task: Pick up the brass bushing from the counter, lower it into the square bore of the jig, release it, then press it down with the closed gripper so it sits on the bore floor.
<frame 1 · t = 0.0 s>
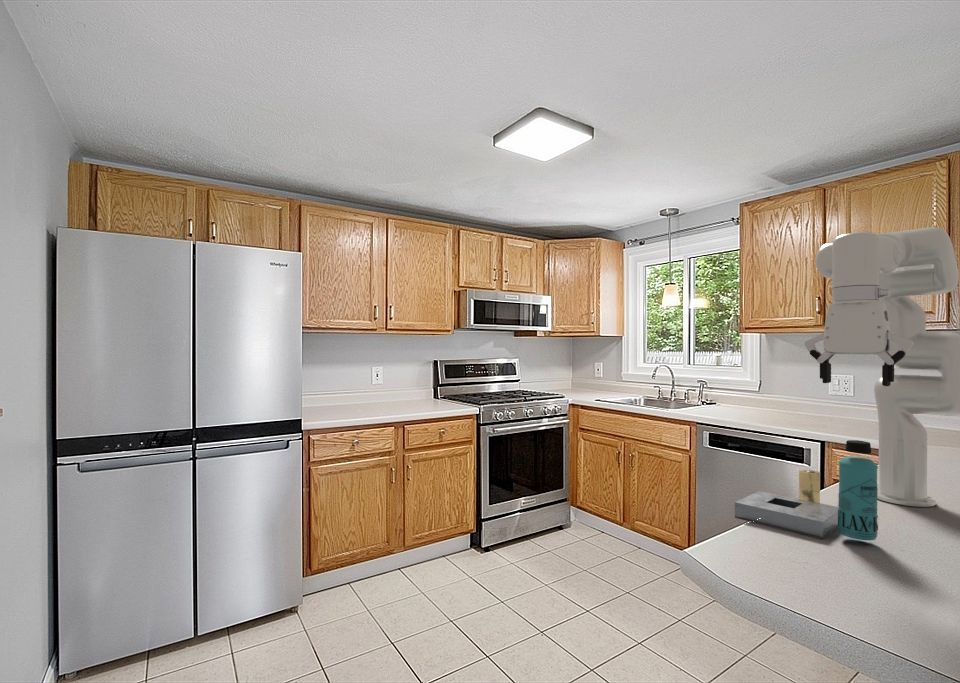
hand: (855, 384, 100), 31 cm above the countertop, fingers open, 9 cm apart
jig: (787, 520, 113), on the countertop
beverage bottle: (857, 543, 101), on the countertop
bushing: (809, 509, 122), on the countertop
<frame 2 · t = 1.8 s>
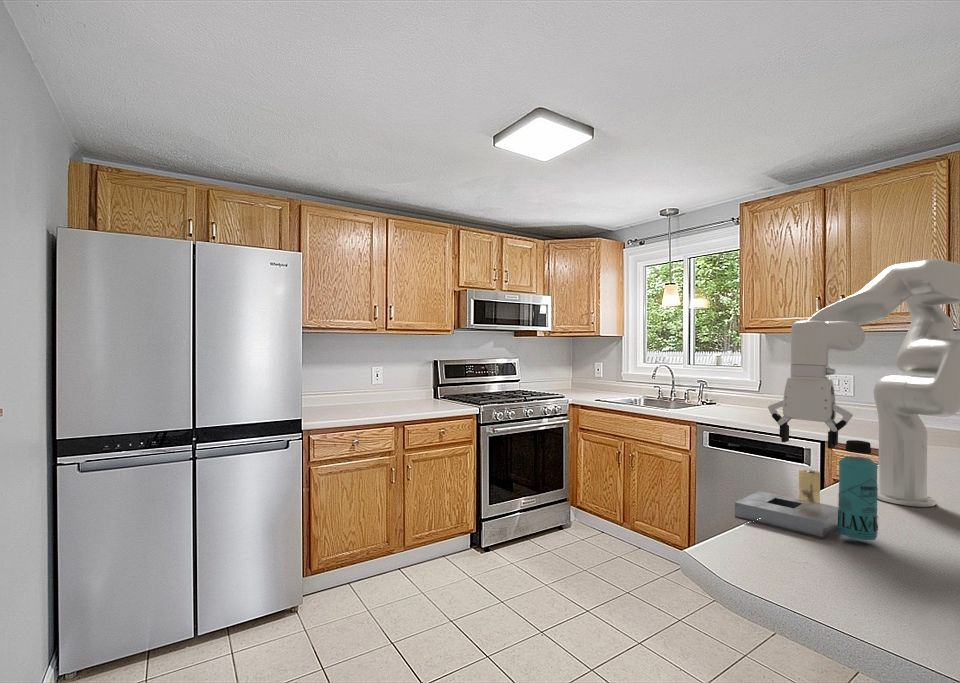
hand: (807, 444, 122), 15 cm above the countertop, fingers open, 9 cm apart
nothing on the countertop moved.
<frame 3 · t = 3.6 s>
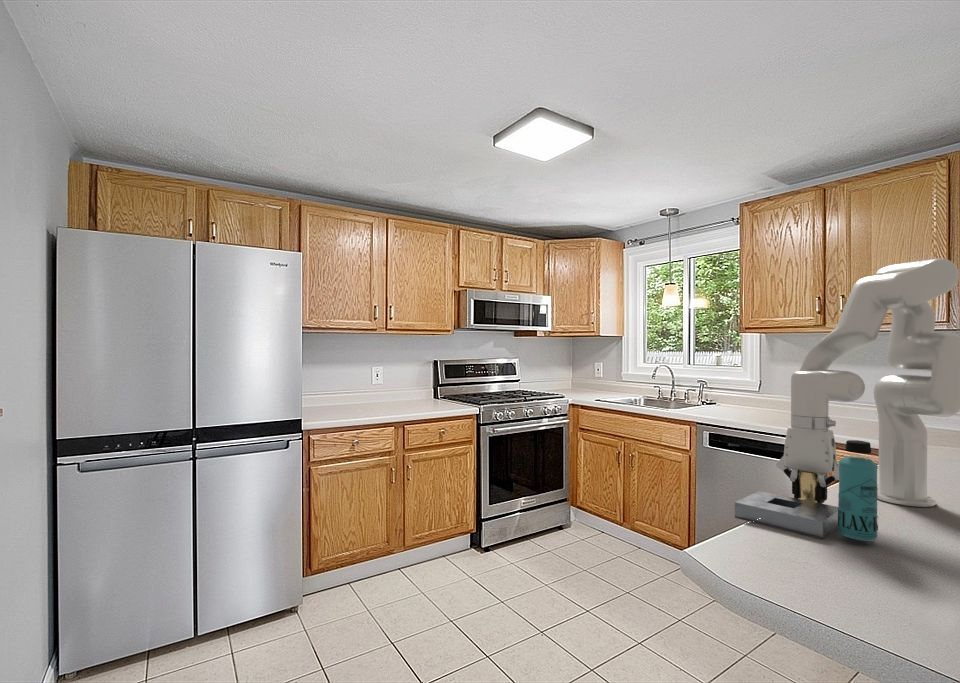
hand: (809, 499, 122), 2 cm above the countertop, fingers closed on bushing, 4 cm apart
bushing: (809, 509, 122), on the countertop, touching gripper
everything else where it was.
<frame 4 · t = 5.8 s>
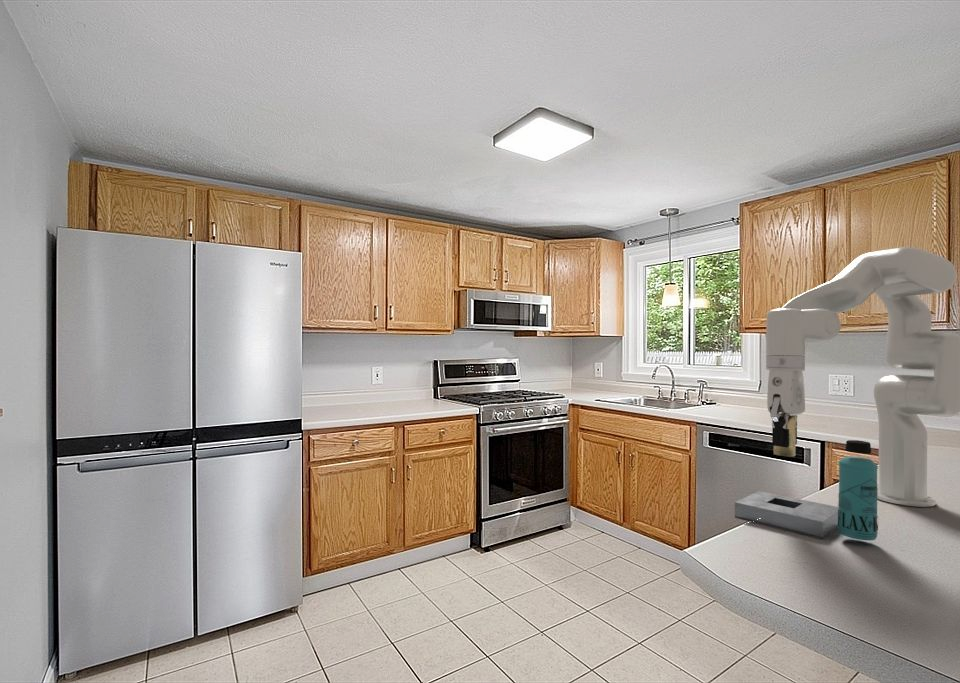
hand: (784, 444, 115), 17 cm above the countertop, fingers closed on bushing, 4 cm apart
bushing: (784, 454, 115), point 14 cm above the countertop, touching gripper
everything else where it was.
when the fingers open (4 cm above the countertop, at t = 8.4 s): bushing drops 1 cm, resting on jig.
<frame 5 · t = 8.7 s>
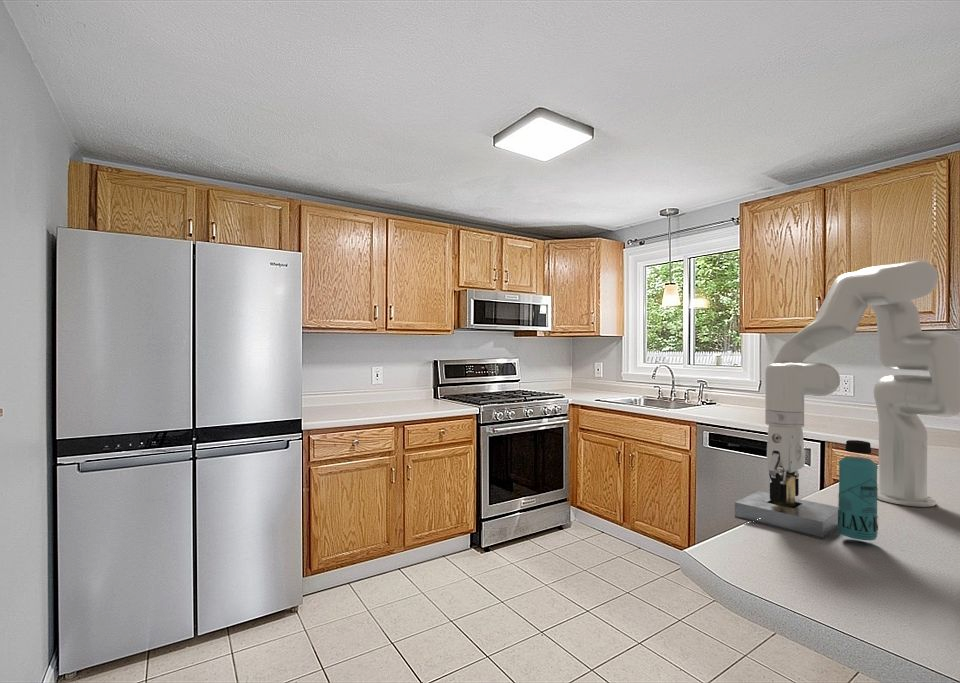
hand: (784, 497, 115), 5 cm above the countertop, fingers open, 7 cm apart
bushing: (784, 516, 115), point 1 cm above the countertop, touching jig
everything else where it was.
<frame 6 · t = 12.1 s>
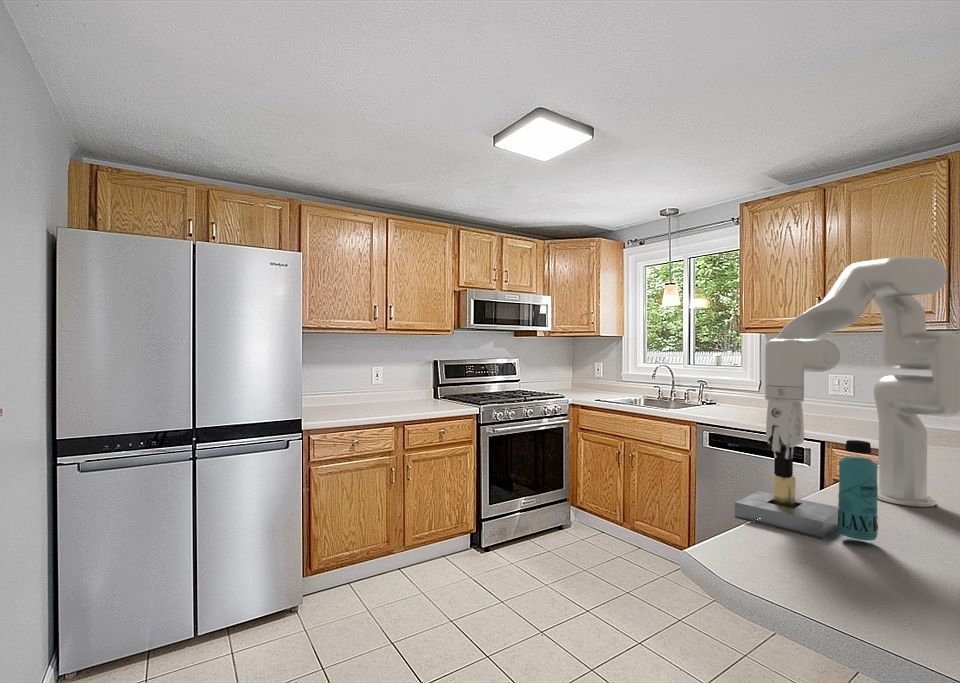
hand: (783, 475, 115), 10 cm above the countertop, fingers closed
bushing: (784, 516, 115), point 1 cm above the countertop, touching gripper, jig
everything else where it was.
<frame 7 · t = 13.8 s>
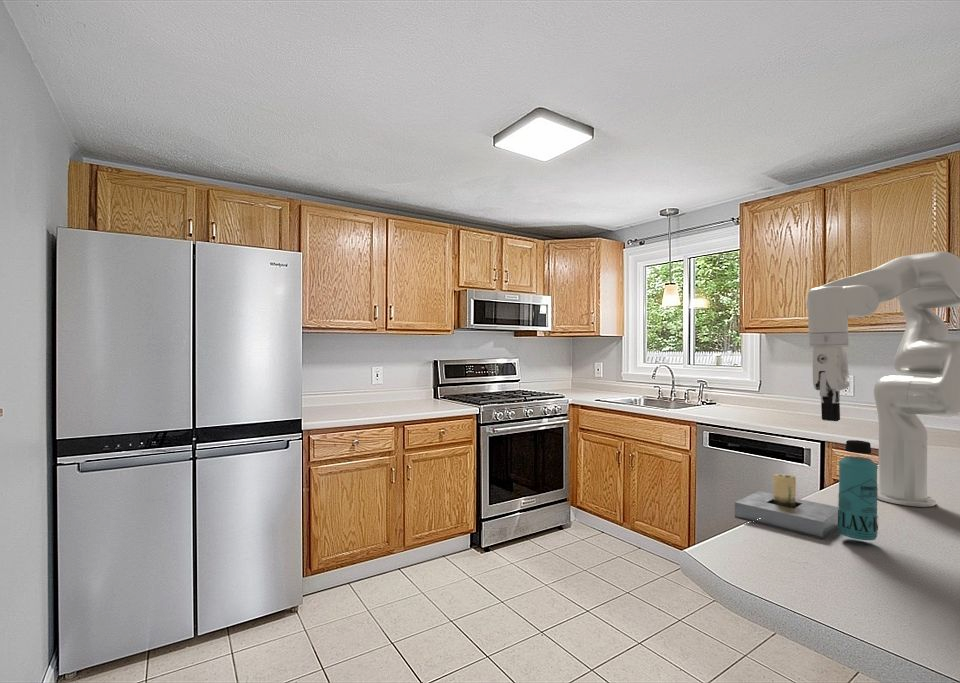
hand: (830, 420, 118), 22 cm above the countertop, fingers closed
bushing: (784, 516, 115), point 1 cm above the countertop, touching jig
everything else where it was.
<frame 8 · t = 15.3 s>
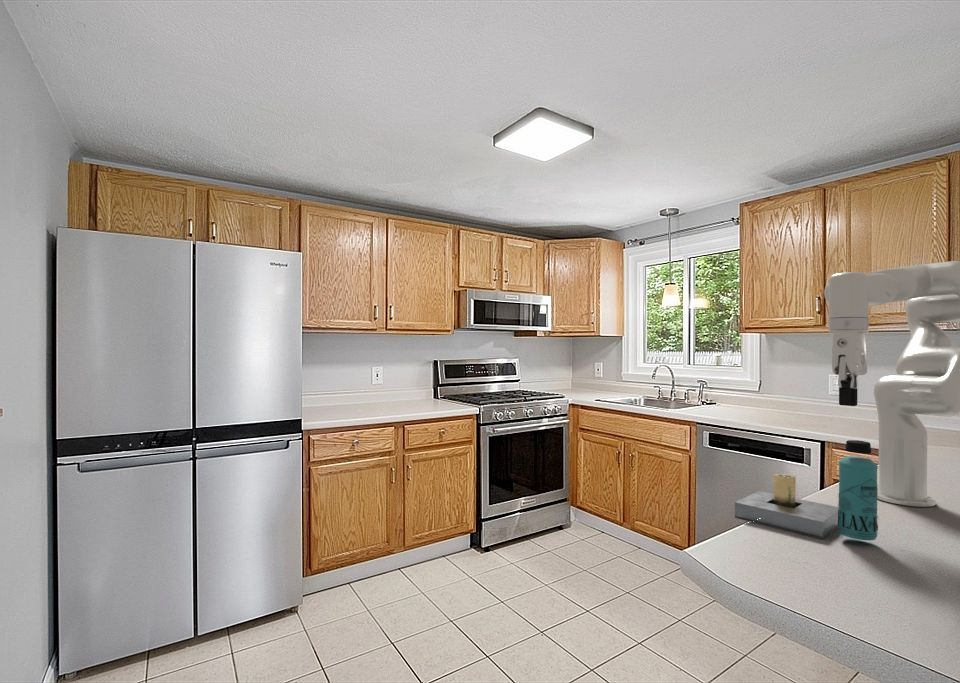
hand: (848, 405, 119), 25 cm above the countertop, fingers closed
nothing on the countertop moved.
at the end: bushing 0.1 cm from the target spot on the jig, point 0.5 cm above the jig's base; bushing tilted 0°; the gripper is holding nothing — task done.
